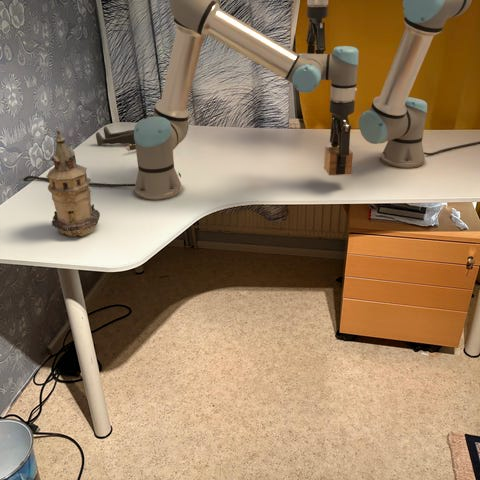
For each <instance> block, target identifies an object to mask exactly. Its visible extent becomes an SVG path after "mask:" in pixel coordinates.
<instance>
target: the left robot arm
mask: <svg viewBox="0 0 480 480" xmlns="http://www.w3.org/2000/svg"><path fill="white" fill-rule="evenodd" d="M168 4H169V9H170V12H171V15H172V16H173V24H174V26H175V27H176V30H175V36H174V41H173V44H172V49H171V53H170V58H169V62H168V68H167V71H166V75H165V76H166V77H165V81H164V85H163V90H162V94H161V99H160V101H158V102H156V103H155V105H154V109H153V112H152V113H153V114H152V116H148V117H146V118H142V119H139V120H138V121H137V122H136V123H135V125H134V127H133V130H134V139H135V144H134V145H135V146H136V149H135V154H136V161H137V175H136V179H135V183H102V182H101V183H100V182H90V184H89V187H91V186H93V187H109V188H111V187H112V188H124V187H125V188H126V187H128V188H129V187H130V188H131V187H132V188H133V187H134V193H135V195H136V196H137V197H138V198H141V199H143V200H148V201H161V200H168V199H171V198H174V197H176V196H178V195H179V194H180V193H181V192H182V182H181V180H180V178H182V174H181V172H179V171H178V173H177V171H176V169H175V161H174V160H175V159H174V158H175V157H174V150H175V149H176V148H177V146H179V145H180V143H182V142H183V141H184V140H185V138H186V137H187V135H188V132H189V128H190V127H189V125H190V124H189V117H190V111H189V110H188V108H187V107H188V103H189V98H190V95H191V91H192V87H193V82H194V78H195V74H196V72H197V71H196V70H197V68H198V67H197V66H198V62H199V59H200V58H199V57H200V54H201V50H202V47H203V44H204V43H203V42H204V39H205V37H206V36H209V37H211V38H213V39H215V40H216V41H218V42H220V43H222V44H223V45H225V46H227V47H228V48H230V49H232V50H233V51H235V52H237V53H239V54H241V55H243V56H244V57H246V58H248V59H249V60H252V61H253V62H255V63H256V64H258V65H260V66H261V67H263V68H265V69H267V70H269V71H270V72H272V73H274V74H276V75H277V76H279V77H281V78H283V79H285V80H286V81H288V82H289V83H291V84H292V85H293V87H294V88H295V90H297V92H299V93H302V94H308V93H312V92H313V91H315V90H316V89H317V88H318V86H319V85H320V83H321V81H331V82H330V94H329V99H330V101H329V112H330V113H331V124H330V133H329V143H330V147H338V148H339V154H336V156H337V168H336V174H337V175H336V176H340V175H339V174H345V166H346V156H349V149H350V145H351V143H350V142H351V129H352V124H350V120H349V116H350V115H352V114H354V112H355V107H356V106H355V105H356V102H355V99H356V92H358V88H357V80H358V72H359V71H358V70H359V55H360V54H359V53H360V51H359V50H358V48H357V47H355V46H349V45H342V46H341V45H339V46H335V47H333V51H332V53H324V54H316V53H315V54H307V52H303V53H297V52H295V51H293V50H291V49H290V48H288V47H286V46H285V45H283V44H281V43H279V42H278V41H276V40H275V39H272V38H271V37H269V36H268V35H266V34H265V33H262V32H260V31H259V30H257V29H255V28H253V27H252V26H250V25H249V24H247V23H245V22H243V21H242V20H240V19H238V18H237V17H235V16H233V15H231V14H229V13H228V12H226V11H224V10H223V9H221V0H169V3H168ZM29 179H31V180H32V179H34V180H38V181H47V182H49V179H48V178H47V177H42V176H35V175H27V176H25V177H24V178H23V179H22V181H23V182H25V181H27V180H29Z"/></svg>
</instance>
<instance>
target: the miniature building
mask: <svg viewBox="0 0 480 480" xmlns="http://www.w3.org/2000/svg"><path fill="white" fill-rule="evenodd" d="M56 134H57V136H56V138H55V140H54V141H55V142H56V147H55V154H54V156H52V157H51V161H52V162H53V165H54V167H53V168H51V169H50V170H49V171H48V173H47V174H46V177H45V178H48V179H49V181H48V182H49V184H48V186H47V190H48V191H49V193H50V194H51V200H52V201H53V205H54V209H55V211H53V217H52V220H51V223H52V225H51V227H54V228H56V229H58V230H59V231H60V234H63V235H64V234H65V235H66V236H69V237H77V236H80V237H83V236H87V235H88V234H90V233H93V232H94V231H95V229H96V226H97V225H98V223H99V220H100V216H101V213H100V212H99V210H98V209H96V208H95V204H92V201H91V200H92V199H91V198H92V197H91V192H92V191H91V188H90V186H89V184H90V183H91V178H89V177H88V174H87V167H85V166H84V165H83V166H82V165H80V164H77V160H76V154H75V151H74V150H70V149H69V147H68V145H67V143H66V138H65V137H64V136H63V135H61V130H60V129H56Z"/></svg>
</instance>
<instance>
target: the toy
mask: <svg viewBox="0 0 480 480" xmlns="http://www.w3.org/2000/svg"><path fill="white" fill-rule="evenodd" d="M103 133H104V136H102V134H101V133H100V132H99V131H97V132H96V133H95V139H96V144H97V145H98V146H102V145H116V144H118V145H128V146H125V150H126V151H127V152H130V151H136V146H135V139H134V129H129V130H125V131H120V132H113V133H112V132H110V130H109V128H108V127H107V126H104V127H103Z"/></svg>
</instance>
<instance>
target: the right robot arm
mask: <svg viewBox="0 0 480 480" xmlns="http://www.w3.org/2000/svg"><path fill="white" fill-rule="evenodd" d="M472 1H473V0H403V1H402V8H403V10H402V12H403V15H404V18H403V23H404V24H405V29H404V32H403V35H402V37H401V39H400V42H399V45H398V47H397V50H396V53H395V56H394V58H393V61H392V63H391V66H390V69H389V71H388V74H387V76H386V79H385V82H384V84H383V87H382V89H381V92H380V95H378V96H375V97H374V98H373V100H372V103H371V105H370V108H369V109H367V110H364V111H363V112H362V113H361V115H359V119H358V129H359V131H360V134H361V136H362V137H363V139H364V140H365V141H366V142H368V143H369V144H372V145H378V144H384V143H386V142H387V143H386V145H385V146H384V149H383V151H382V152H381V157H380V158H381V159H380V160H381V162H382V163H384V164H385V165H387V166H390V167H395V168H400V169H414V168H415V169H416V168H418V167H421V166H423V165H424V163H425V155H426V156H433V155H436V154H439V153H442V152H446V151H450V150H455V149H458V148H463V147H468V146H473V145H478V144H480V140H478V141H475V142H474V141H473V142H470V143H465V144H460V145H456V146H450V147H446V148H443V149H439V150H436V151H434V152H433V151H432V152H425V151H424V145H423V138H424V132H425V125H426V120H427V114H428V103H427V102H426V101H425V100H423V99H420V98H415V97H410V96H409V95H410V93H411V91H412V88H413V86H414V84H415V81H416V79H417V77H418V75H419V71H420V69H421V67H422V65H423V62H424V60H425V57H426V56H427V53H428V51H429V49H430V46H431V44H432V42H433V39H434V37H435V36H436V35H438V34H440V33H442V31H443V28H444V26H445V24H446V22H447V20H448V19H452V18H453V19H454V18H457V17H459V16H461V15H462V14H464V13H465V12H466V11H467V10H468V8H469V7H470V6H471V4H472ZM306 3H307V4H306V5H307V8H306V18H307V19H308V20H309V21H308V28H307V35H306V40H305V42H306V43H307V47H306V48H307V50H306V51H307V52H306V54H325V52H326V50H327V48H326V32H325V31H326V30H325V27H326V24H325V23H326V22H325V21H324V22H323V19H326V18H328V14H329V13H328V12H329V7H328V5H329V0H306Z"/></svg>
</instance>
